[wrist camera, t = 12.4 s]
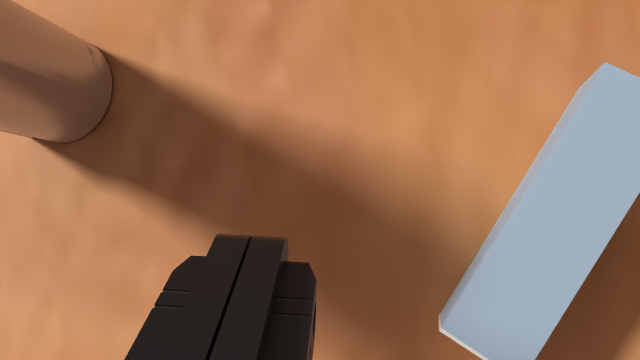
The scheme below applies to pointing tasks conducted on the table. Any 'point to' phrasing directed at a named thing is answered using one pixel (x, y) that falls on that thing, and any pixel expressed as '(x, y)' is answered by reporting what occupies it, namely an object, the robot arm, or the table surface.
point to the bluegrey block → (552, 224)
